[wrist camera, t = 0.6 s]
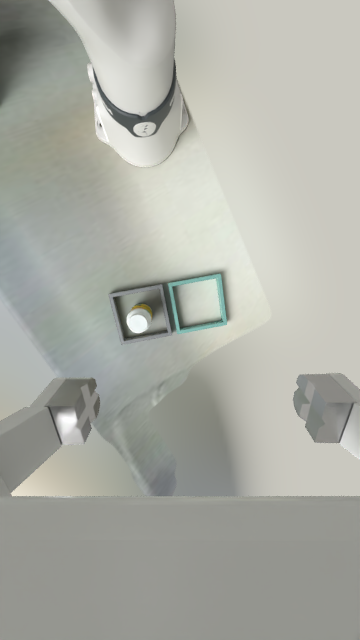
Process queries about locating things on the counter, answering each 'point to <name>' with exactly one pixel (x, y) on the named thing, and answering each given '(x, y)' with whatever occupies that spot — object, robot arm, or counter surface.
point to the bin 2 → (221, 301)
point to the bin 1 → (118, 322)
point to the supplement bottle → (139, 318)
